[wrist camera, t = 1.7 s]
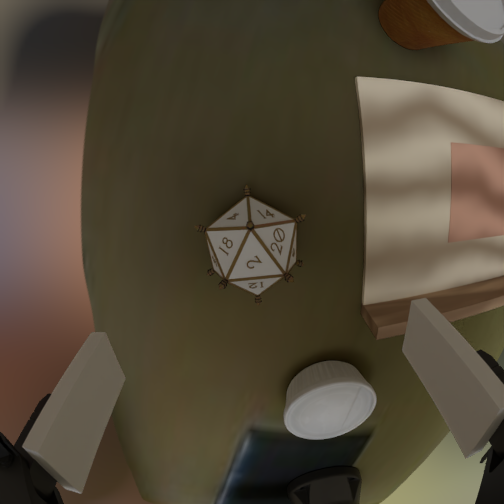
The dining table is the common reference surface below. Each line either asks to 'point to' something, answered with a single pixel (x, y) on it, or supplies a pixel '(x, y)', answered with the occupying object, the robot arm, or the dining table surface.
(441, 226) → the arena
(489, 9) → the disposable coffee cup
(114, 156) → the dining table surface
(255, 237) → the game die
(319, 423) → the ramekin
